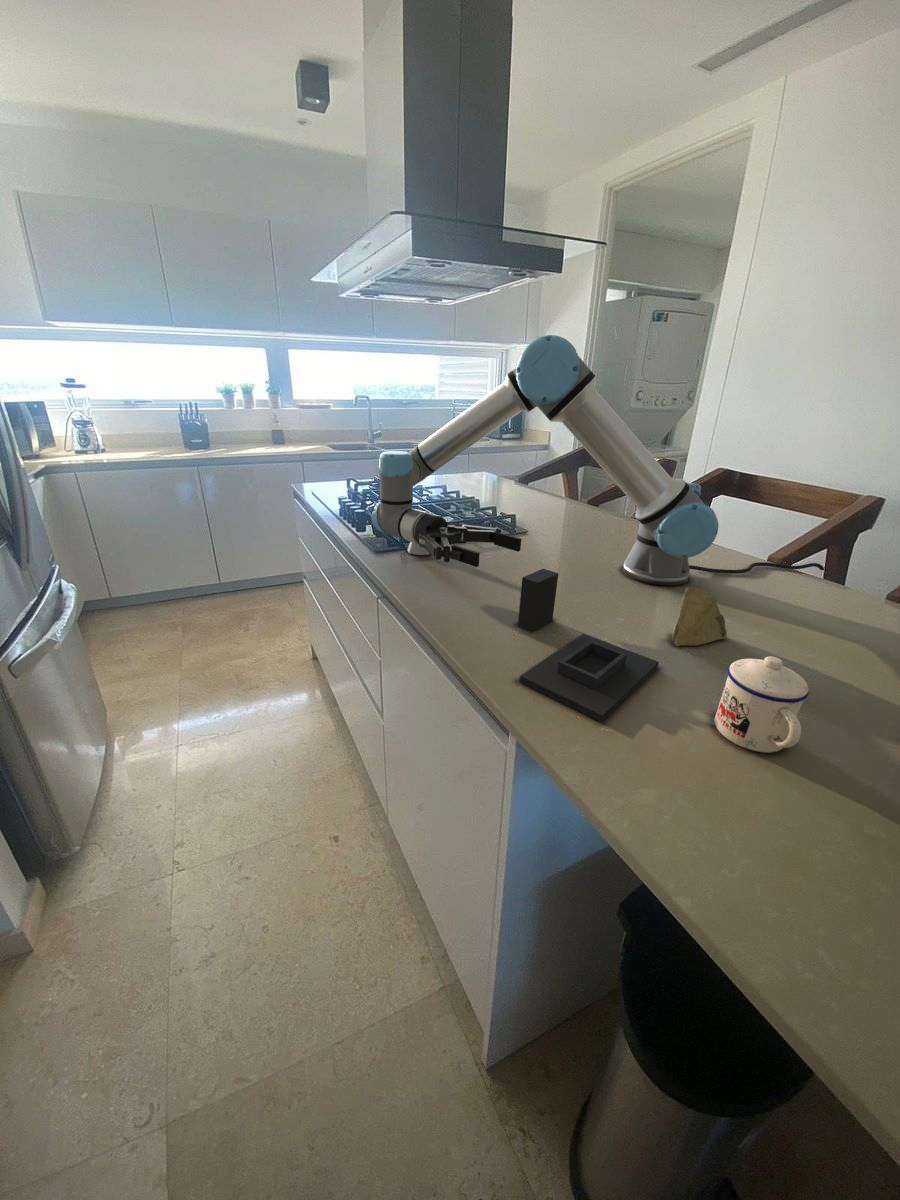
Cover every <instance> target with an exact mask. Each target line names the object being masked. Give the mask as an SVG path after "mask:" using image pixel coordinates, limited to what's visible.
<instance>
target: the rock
mask: <svg viewBox="0 0 900 1200" xmlns="http://www.w3.org/2000/svg"><path fill="white" fill-rule="evenodd" d="M717 603H718V602H717V599H716V598H714V597H713V596H712V595H710V594H709V593H707V592H706V591H705V590H703V589H701V588H698V587H691V586H687V587H686V588H685V590H684V592H683V595H682V598H681V601H680V607H679V615H678V617H677V620H676V622H675V625H674V628H673V632H672V637H671V638H672V640H671V641H672V643H673V644H674V646H675V647H680V646H691V647H692V646H695V647H696V646H701V645H705V644H708V643H713V642H715V641H718V640H719V641H721V640H725V639H727V637H728V635H727V631H728V630H727V628H726V621H725V617H724V615H723V614H722V613H721V610H720V608H719V606H718V604H717Z"/></svg>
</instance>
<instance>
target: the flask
mask: <svg viewBox="0 0 900 1200" xmlns="http://www.w3.org/2000/svg"><path fill="white" fill-rule="evenodd" d="M407 552H408V554H412V555H417V556H426V555H427V556H429V555H431V554H430V553H429V552H428V551H427V550H426V549H425V548H423V547H420V546H419V544H418V545H415V544H414V543H413V542H410V541H409V545H408V547H407Z"/></svg>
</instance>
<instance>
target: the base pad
mask: <svg viewBox="0 0 900 1200" xmlns="http://www.w3.org/2000/svg"><path fill="white" fill-rule="evenodd" d="M659 664H660V662H659V661H658V660H655V659H652V658H649V657H647V656H644V655H642V654H639V653H636V652H633V651H632V650H629V649H626V648H623V647H620V646H617V645H616V644H613V643H610V642H607V641H605V640H603V639H602V640H601V639H599V638H597V637H595V636H591V635H589V634H586V633H581V634H580V635H579V636H577V637H576V638H574V639H573V640H571V641H570V642H568V643H567V644H565V645H563V646H562V647H561V648H560V649H558V650H557V651H555V652H554V653H551V655H549V656H547V657H546V658H544V659H543V660H542V661H540V662H539V663H536V664H535V665H534V666H532V667H530V669H528V670H526V671H525V672H524V673H522V674H520V675H519V683H521V684H522V685H525V686H527V687H528V688H530V689H533V690H534V691H537V692H539V693H541V694H543V695H545V696H547V697H549V698H551V699H553V700H555V701H557V702H559V703H561V704H563V705H565V706H567V707H569V708H571V709H573V710H575V711H578V712H580V713H582V714H583V715H586V716H588V717H590V718H592V719H593V720H596V721H598V722H600V723H602V722H603V721H604V720H606V718H608V716H609V715H611V714H612V713H613V712H614V710H616V709H617V708H618V707H619V706H620V705H621V704H622V703H623V702H624V701H625V700H626V699H628V698H629V696H631V695H632V693H633V692H634V691H636V690H637V688H638V687H639V686H640V685H642V684H643V683H644V682H645V681H646V680H647V679H648V678H649V677H650V676H651V675H652V674H653V673H654V672H655V671H656V670H657V669H658V668H659Z"/></svg>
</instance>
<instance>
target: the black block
mask: <svg viewBox="0 0 900 1200" xmlns="http://www.w3.org/2000/svg"><path fill="white" fill-rule="evenodd" d="M558 580H559V572H556V571H553V570H549V569H546V568H541V569H539V570H536V571H534V572H532V573H530V574H527V575H525V576H523V577H522V578H521V587H520V598H519V610H518V619H517V626H518V627H521V628H523V629H526V630H528V631H531V632H535V631H537V630H538V629H539V628H541V627H543V626H545V625H546V624H548V623H550V622H552V621H553V618H554V613H555V605H556V597H557V588H558Z"/></svg>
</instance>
